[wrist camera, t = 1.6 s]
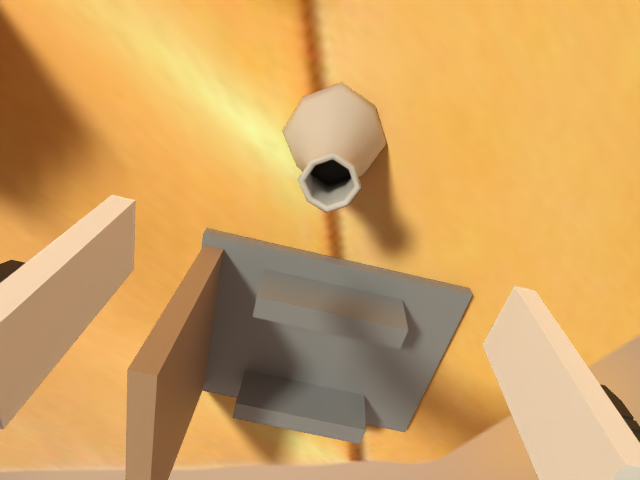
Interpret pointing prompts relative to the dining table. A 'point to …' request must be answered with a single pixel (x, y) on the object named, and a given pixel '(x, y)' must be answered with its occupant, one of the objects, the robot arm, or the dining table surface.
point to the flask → (333, 144)
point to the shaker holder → (286, 347)
